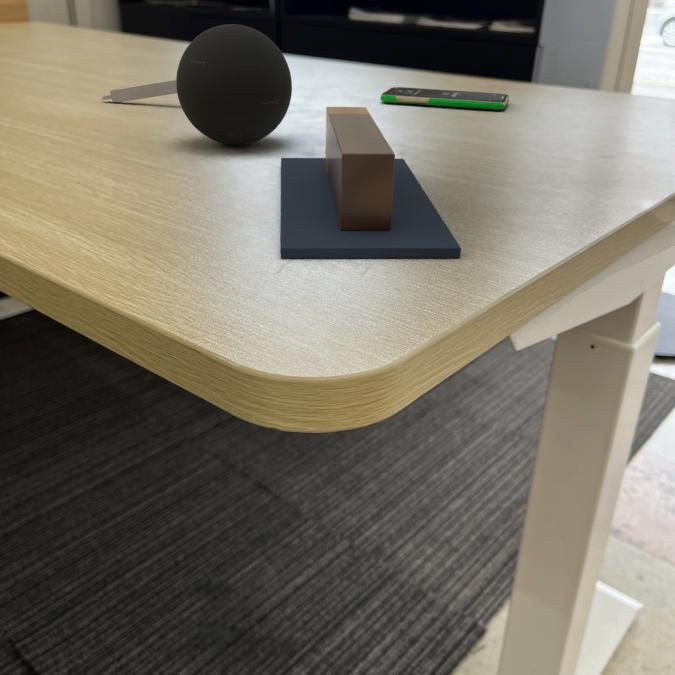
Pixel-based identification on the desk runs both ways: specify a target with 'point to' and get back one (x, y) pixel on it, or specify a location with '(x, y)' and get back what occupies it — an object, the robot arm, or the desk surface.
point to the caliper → (142, 91)
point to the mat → (330, 242)
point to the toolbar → (359, 169)
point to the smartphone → (446, 98)
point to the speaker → (234, 84)
